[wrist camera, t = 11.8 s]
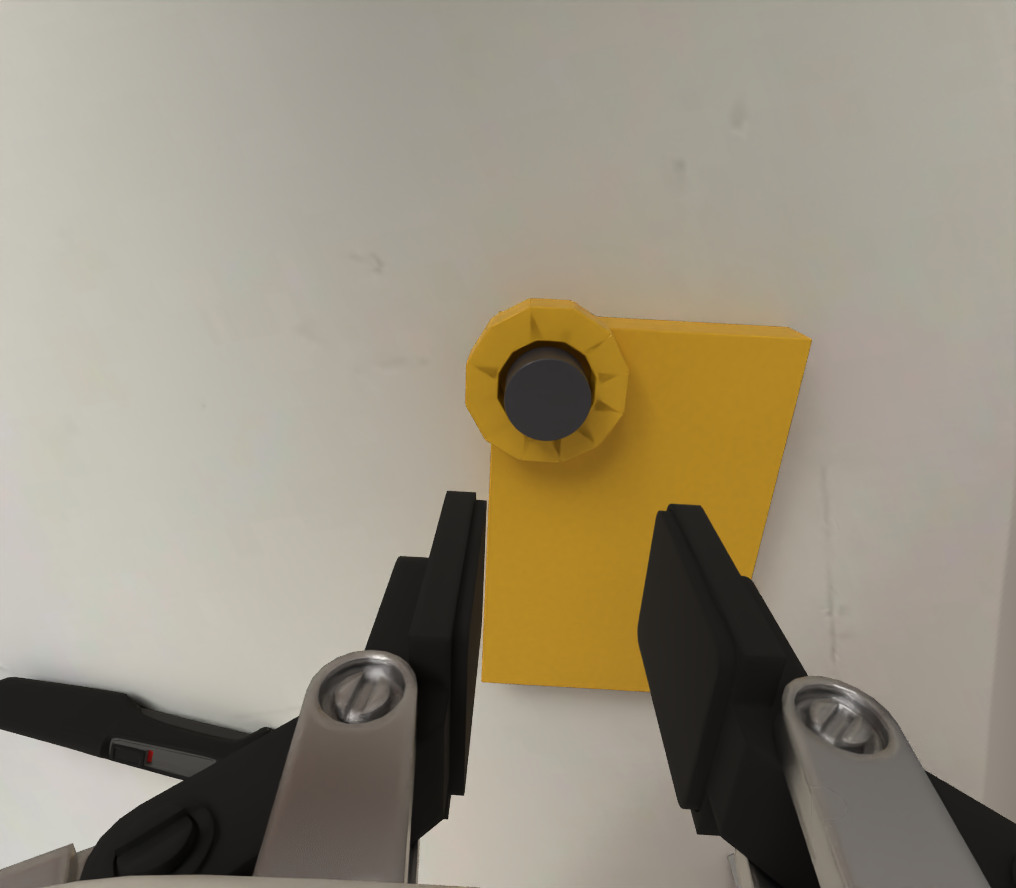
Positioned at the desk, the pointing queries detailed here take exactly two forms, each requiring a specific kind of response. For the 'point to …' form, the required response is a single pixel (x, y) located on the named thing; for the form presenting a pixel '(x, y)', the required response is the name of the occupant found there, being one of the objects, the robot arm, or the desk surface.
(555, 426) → the black cylindrical knob
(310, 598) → the desk surface
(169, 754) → the electric trimmer
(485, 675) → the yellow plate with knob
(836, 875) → the robot arm
